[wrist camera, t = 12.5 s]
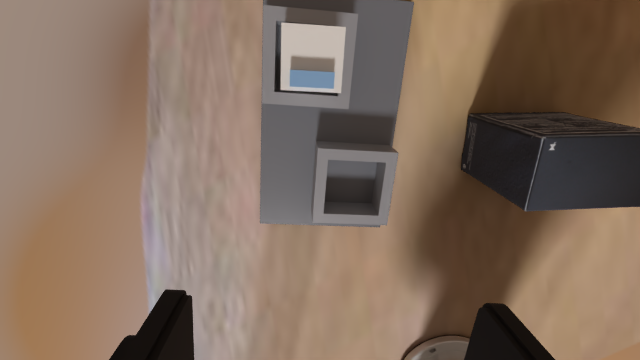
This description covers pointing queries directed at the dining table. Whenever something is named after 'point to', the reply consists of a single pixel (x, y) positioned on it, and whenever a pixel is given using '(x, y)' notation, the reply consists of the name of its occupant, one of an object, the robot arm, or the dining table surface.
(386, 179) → the panel
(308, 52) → the plug
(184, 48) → the dining table surface
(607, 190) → the small box
